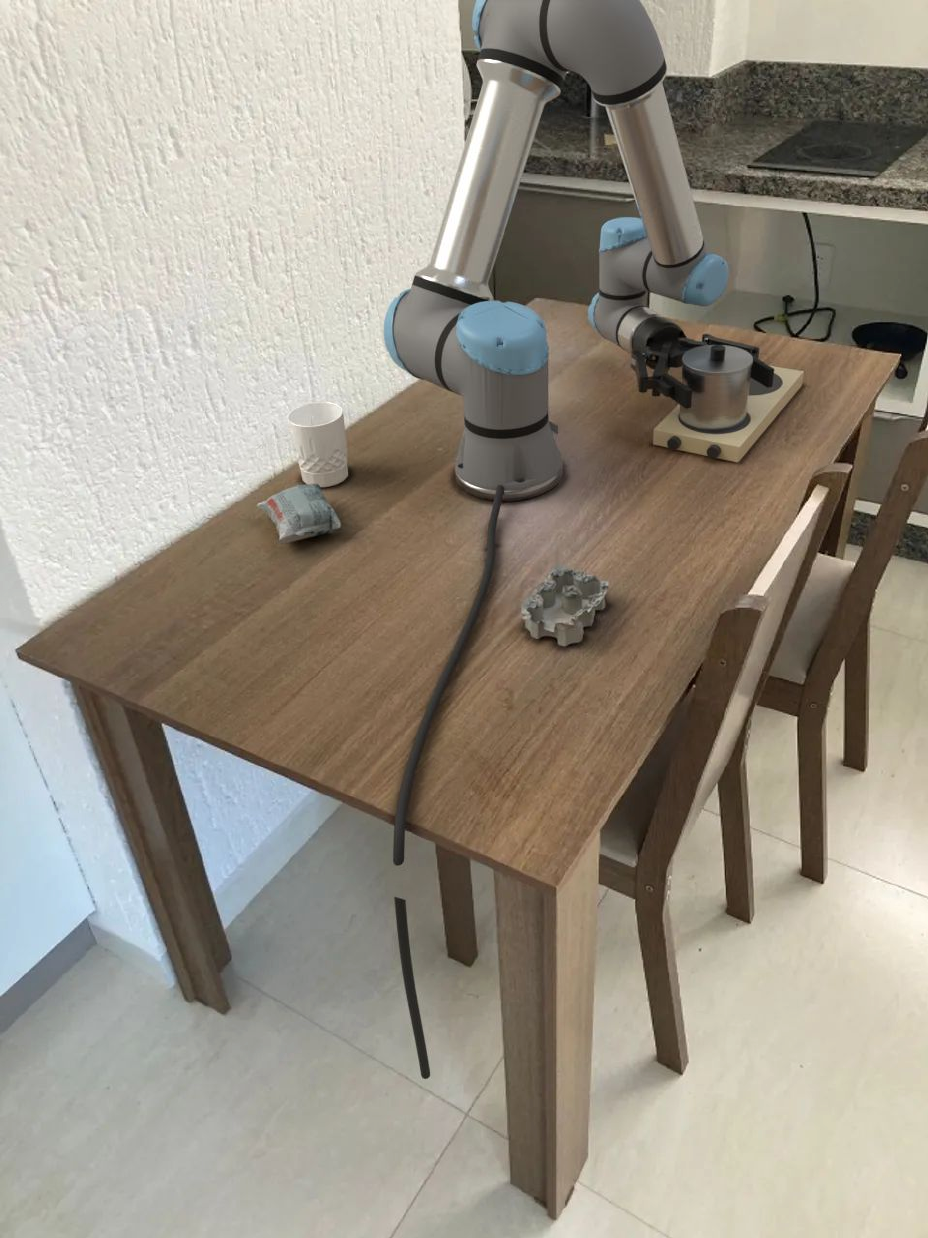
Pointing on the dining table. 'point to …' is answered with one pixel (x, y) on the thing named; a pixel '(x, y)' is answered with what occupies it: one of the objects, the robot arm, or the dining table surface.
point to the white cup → (319, 442)
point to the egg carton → (564, 604)
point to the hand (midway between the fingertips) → (730, 388)
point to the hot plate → (740, 439)
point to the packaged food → (300, 513)
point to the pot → (716, 387)
